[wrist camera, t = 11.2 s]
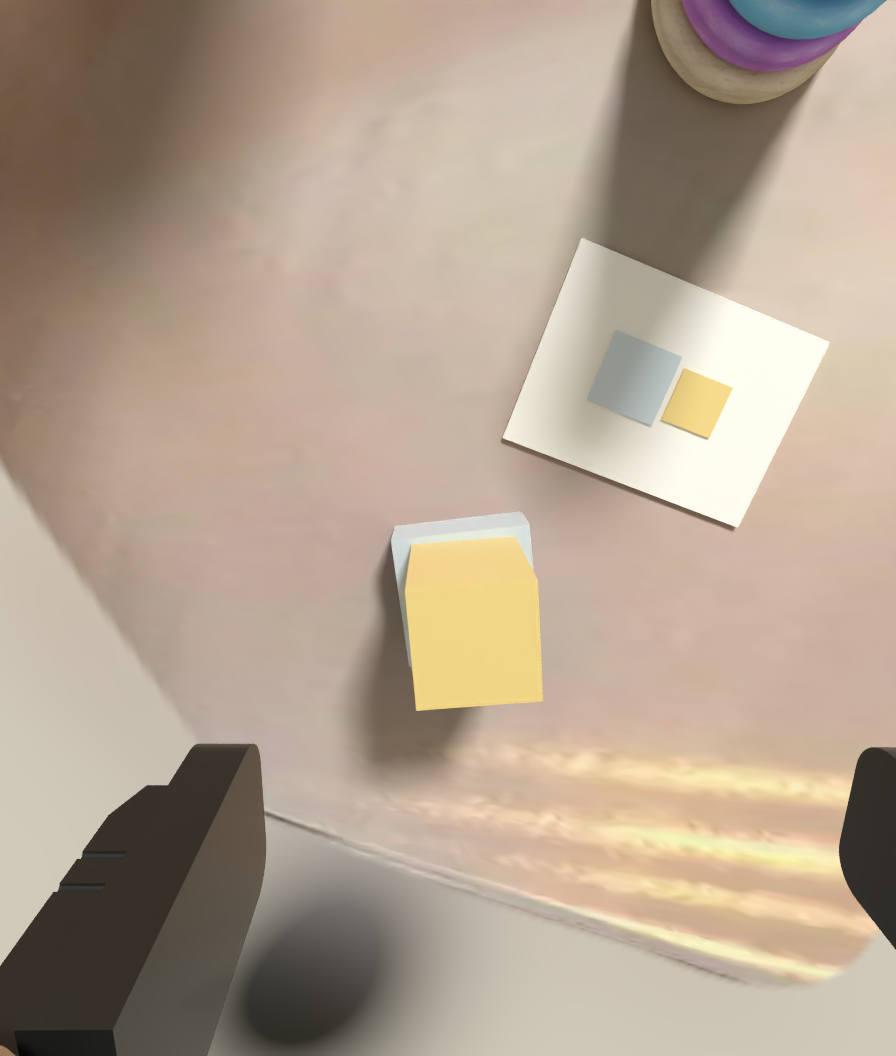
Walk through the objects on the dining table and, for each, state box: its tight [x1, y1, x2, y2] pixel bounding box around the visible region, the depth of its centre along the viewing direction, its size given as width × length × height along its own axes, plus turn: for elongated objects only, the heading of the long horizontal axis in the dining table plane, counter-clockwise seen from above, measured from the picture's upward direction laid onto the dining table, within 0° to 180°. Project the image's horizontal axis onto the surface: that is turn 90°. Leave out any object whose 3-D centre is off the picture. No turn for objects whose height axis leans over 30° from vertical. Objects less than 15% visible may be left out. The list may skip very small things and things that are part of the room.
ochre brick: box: [405, 536, 543, 711], centre depth 24 cm, size 4×4×6 cm
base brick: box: [391, 511, 534, 667], centre depth 29 cm, size 6×6×3 cm
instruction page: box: [502, 238, 830, 528], centre depth 28 cm, size 12×9×1 cm
